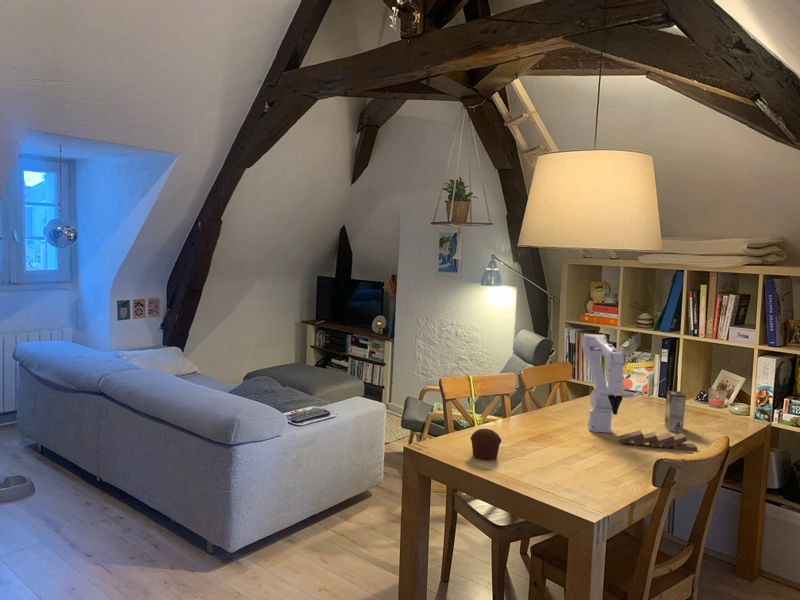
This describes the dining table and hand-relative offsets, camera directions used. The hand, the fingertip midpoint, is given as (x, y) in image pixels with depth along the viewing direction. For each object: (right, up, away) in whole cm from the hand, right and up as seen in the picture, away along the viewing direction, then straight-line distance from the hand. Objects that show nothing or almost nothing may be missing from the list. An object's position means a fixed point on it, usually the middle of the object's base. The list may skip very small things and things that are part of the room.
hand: (614, 414), depth 261 cm
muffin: (-57, -11, -26) cm, 63 cm away
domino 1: (+1, -10, -3) cm, 11 cm away
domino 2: (+6, -10, -4) cm, 13 cm away
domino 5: (+21, -12, -7) cm, 25 cm away
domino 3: (+12, -11, -6) cm, 17 cm away
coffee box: (+32, -10, +19) cm, 39 cm away
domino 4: (+17, -11, -6) cm, 21 cm away
